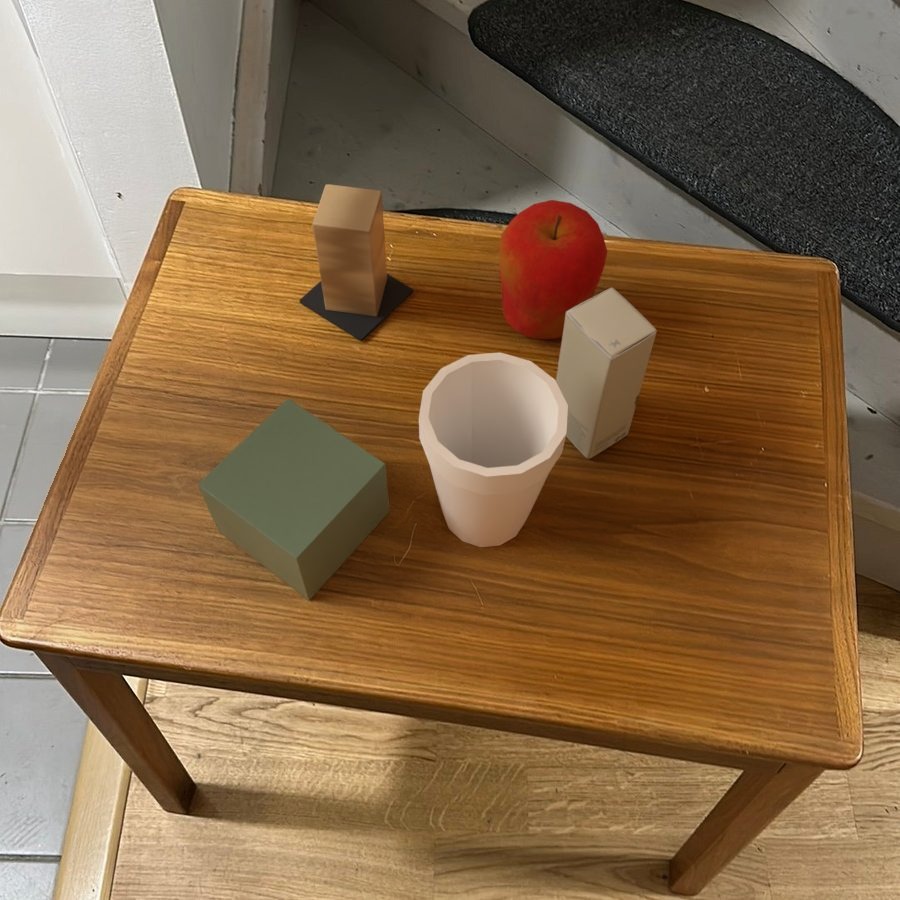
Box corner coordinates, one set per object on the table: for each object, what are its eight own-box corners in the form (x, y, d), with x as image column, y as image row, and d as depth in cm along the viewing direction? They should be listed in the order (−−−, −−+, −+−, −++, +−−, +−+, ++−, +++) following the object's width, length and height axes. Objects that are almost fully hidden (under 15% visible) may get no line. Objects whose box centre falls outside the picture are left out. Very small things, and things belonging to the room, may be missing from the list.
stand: (217, 531, 68) (196, 484, 62) (300, 449, 72) (287, 397, 66) (309, 601, 65) (296, 558, 59) (389, 511, 69) (385, 463, 63)
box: (629, 436, 73) (663, 332, 62) (585, 462, 71) (613, 361, 60) (587, 390, 75) (613, 283, 64) (544, 415, 74) (563, 310, 63)
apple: (502, 273, 82) (511, 168, 72) (597, 288, 81) (619, 184, 71) (485, 348, 77) (492, 248, 67) (585, 365, 76) (607, 265, 66)
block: (325, 310, 79) (311, 224, 70) (337, 271, 81) (325, 183, 73) (377, 317, 78) (369, 231, 70) (387, 277, 81) (381, 190, 72)
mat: (299, 303, 80) (299, 300, 79) (352, 255, 83) (352, 252, 82) (361, 342, 77) (361, 339, 77) (413, 292, 80) (413, 289, 80)
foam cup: (464, 589, 66) (470, 501, 55) (398, 492, 70) (391, 393, 59) (572, 526, 69) (598, 431, 57) (503, 436, 73) (514, 331, 62)
